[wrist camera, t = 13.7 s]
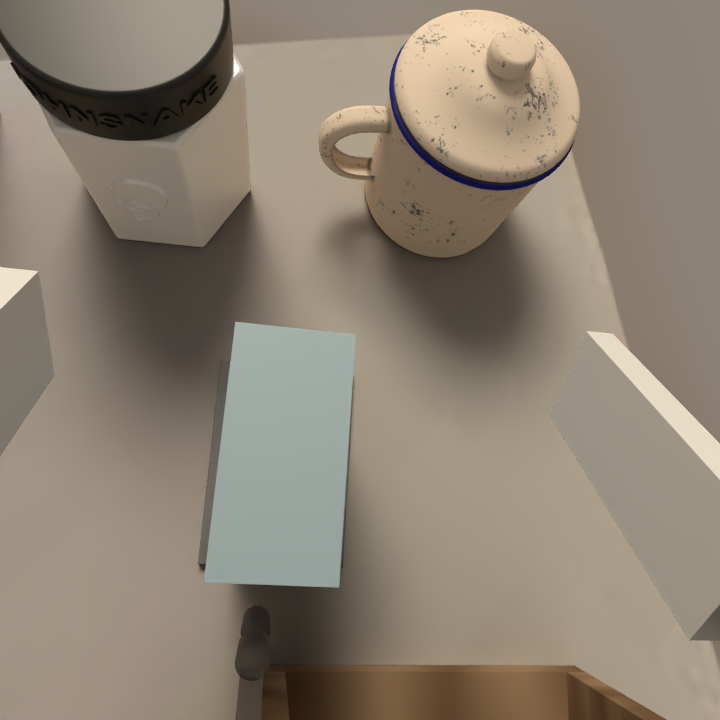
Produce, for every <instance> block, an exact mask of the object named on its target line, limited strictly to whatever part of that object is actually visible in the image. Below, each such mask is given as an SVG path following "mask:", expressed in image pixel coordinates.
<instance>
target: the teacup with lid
mask: <svg viewBox="0 0 720 720" xmlns="http://www.w3.org/2000/svg"><path fill="white" fill-rule="evenodd" d="M389 92H390V95H389V98H388V101H387V105H386V106H355V107H350V108H346V109H343V110H341V111H338V112H336V113H335V114H333V115H331V116H330V117H329V118H327V119H326V120H325V122H324V123H323V125H322V126H321V129H320V132H319V151H320V155H321V158H322V160H323V162H324V163H325V164H326V166H327V167H328V168H329V169H330V170H331V171H333V172H334V173H336V174H338V175H340V176H343V177H346V178H350V179H358V180H365V195H366V200H367V204H368V206H369V209H370V212H371V214H372V216H373V218H374V219H375V221H376V222H377V224H378V225H379V227H380V228H381V229H382V230H383V231H384V232H385V234H386V235H387V236H389V237H390V238H391V239H392V240H393V241H395V242H396V243H397V244H399V245H400V246H402V247H404V248H406V249H407V250H409V251H412V252H414V253H417V254H420V255H424V256H429V257H441V258H444V257H453V256H458V255H462V254H465V253H467V252H470V251H472V250H473V249H475V248H477V247H478V246H480V245H481V244H482V243H484V242H485V241H486V240H487V239H488V238H489V237H490V236H491V234H492V233H493V232H494V231H495V230H496V229H497V228H498V227H499V225H500V224H501V223H502V222H503V221H504V220H505V219H506V218H507V216H508V215H509V214H510V213H511V212H512V211H513V210H514V209H515V207H516V206H517V205H518V204H519V203H520V202H521V201H522V200H523V198H524V197H525V196H526V195H527V194H528V193H529V192H530V191H531V189H532V188H533V187H534V186H535V185H536V184H537V183H538V182H539V181H541V180H543V179H544V178H546V177H547V176H549V175H550V174H551V173H552V172H554V171H555V170H556V169H557V168H558V167H559V166H560V165H561V164H562V162H563V161H564V160H565V158H566V157H567V155H568V154H569V152H570V150H571V148H572V145H573V143H574V140H575V137H576V134H577V130H578V126H579V120H580V101H579V94H578V89H577V86H576V83H575V80H574V77H573V75H572V73H571V71H570V69H569V67H568V65H567V63H566V61H565V60H564V59H563V57H562V56H561V55H560V53H559V52H558V51H557V49H556V48H555V47H554V46H553V45H552V44H551V43H550V42H549V41H548V40H547V39H546V38H545V37H544V36H542V35H541V34H540V33H538V32H537V31H536V30H534V29H533V28H531V27H530V26H528V25H526V24H525V23H523V22H521V21H519V20H517V19H514V18H512V17H509V16H507V15H504V14H500V13H496V12H491V11H483V10H462V11H456V12H451V13H448V14H444V15H442V16H439V17H437V18H435V19H433V20H431V21H429V22H428V23H426V24H425V25H423V26H422V27H421V28H420V29H418V30H417V31H416V32H415V33H414V34H413V35H412V36H411V37H410V38H409V40H408V41H407V42H406V43H405V44H404V45H403V47H402V48H401V50H400V51H399V53H398V55H397V57H396V59H395V62H394V64H393V68H392V71H391V76H390V86H389ZM367 132H372V133H378V134H377V137H376V140H375V143H374V146H373V150H372V153H371V156H370V157H356V156H350V155H347V154H345V153H343V152H341V151H340V150H338V149H337V148H336V147H335V146H334V145H335V144H336V143H337V142H338V141H339V140H340V139H342V138H344V137H346V136H349V135H352V134H356V133H367Z"/></svg>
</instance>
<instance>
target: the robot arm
mask: <svg viewBox="0 0 720 720" xmlns="http://www.w3.org/2000/svg"><path fill="white" fill-rule="evenodd" d="M53 377H54V370H53V363H52V357H51V350H50V344H49V337H48V331H47V324H46V318H45V311H44V305H43V298H42V291H41V285H40V278H39V272H38V271H31V270H22V269H12V268H3V267H0V455H1V454H2V452H3V451H4V449H5V448H6V446H7V445H8V443H9V442H10V440H11V439H12V437H13V436H14V434H15V433H16V431H17V430H18V429H19V427H20V426H21V424H22V423H23V421H24V420H25V418H26V417H27V415H28V414H29V412H30V411H31V409H32V408H33V406H34V405H35V403H36V402H37V400H38V399H39V397H40V396H41V394H42V393H43V391H44V390H45V388H46V387H47V385H48V384H49V382H50V381H51V380H52V378H53ZM549 415H550V417H551V419H552V420H553V422H554V423H555V425H556V427H557V428H558V430H559V431H560V433H561V435H562V436H563V438H564V440H565V441H566V443H567V444H568V446H569V448H570V449H571V451H572V452H573V454H574V456H575V457H576V459H577V460H578V462H579V464H580V465H581V467H582V469H583V470H584V472H585V473H586V475H587V477H588V478H589V480H590V481H591V483H592V485H593V486H594V488H595V489H596V491H597V493H598V494H599V496H600V497H601V499H602V501H603V502H604V504H605V506H606V507H607V509H608V510H609V512H610V514H611V515H612V517H613V518H614V520H615V522H616V523H617V525H618V526H619V528H620V530H621V531H622V533H623V535H624V536H625V538H626V539H627V541H628V543H629V544H630V546H631V547H632V549H633V551H634V552H635V554H636V555H637V557H638V559H639V560H640V562H641V564H642V565H643V567H644V568H645V570H646V572H647V573H648V575H649V576H650V578H651V580H652V581H653V583H654V584H655V586H656V588H657V589H658V591H659V592H660V594H661V596H662V597H663V599H664V601H665V602H666V604H667V605H668V607H669V609H670V610H671V612H672V613H673V615H674V617H675V618H676V620H677V621H678V623H679V625H680V626H681V628H682V630H683V631H684V633H685V634H686V636H687V638H688V639H689V640H720V444H719V443H718V442H717V441H716V440H715V439H714V437H712V435H711V434H710V433H709V432H708V431H707V430H706V429H705V428H704V427H703V426H702V425H701V424H700V423H699V422H698V421H697V420H696V419H695V418H694V417H693V416H692V415H691V414H690V413H689V412H688V411H687V410H686V409H685V408H684V407H683V406H682V405H681V404H680V403H679V402H678V401H677V399H676V398H675V397H673V395H672V394H671V393H670V392H669V391H668V390H667V389H666V388H665V387H664V386H663V385H662V384H661V383H660V382H659V381H658V380H657V379H656V378H655V377H654V376H653V375H652V374H651V373H650V372H649V371H648V370H647V369H646V368H645V367H644V366H643V365H642V364H641V363H640V362H639V361H638V360H637V359H636V358H635V356H634V355H633V354H632V353H631V352H630V351H629V350H628V349H627V348H626V347H625V346H624V345H623V344H622V343H621V342H620V341H619V340H618V339H617V338H616V337H615V336H614V335H613V334H608V333H598V332H589V331H586V332H585V335H584V337H583V339H582V342H581V344H580V346H579V348H578V351H577V353H576V355H575V357H574V360H573V362H572V364H571V366H570V369H569V371H568V373H567V375H566V378H565V380H564V382H563V385H562V387H561V389H560V391H559V394H558V396H557V398H556V400H555V403H554V405H553V407H552V409H551V412H550V414H549Z"/></svg>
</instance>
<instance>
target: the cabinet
mask: <svg viewBox="0 0 720 720" xmlns="http://www.w3.org/2000/svg"><path fill="white" fill-rule="evenodd" d="M229 369H230V362H224V361H221V364H220V373H219V382H218V391H217V399H216V408H215V417H214V426H213V435H212V444H211V453H210V462H209V470H208V479H207V488H206V497H205V506H204V515H203V524H202V533H201V541H200V550H199V559H198V564H206V559H207V551H208V543H209V534H210V526H211V518H212V510H213V501H214V493H215V485H216V477H217V468H218V460H219V452H220V444H221V435H222V427H223V419H224V411H225V402H226V394H227V386H228V378H229ZM351 402H352V400H351ZM350 420H351V415H350ZM349 439H350V430H349ZM348 457H349V445H348ZM347 476H348V460H347V475H346V490H345V506H344V521H343V536H342V551H341V566H340V568H343V550H344V532H345V513H346V494H347ZM269 635H270V615H269V613H268V611H267V610H266V609H265V608H264V607H262V606H254V607H251V608H250V609H248V610H247V611H246V613H245V615H244V617H243V622H242V628H241V638H240V640H239V644H238V649H237V654H236V660H235V667H236V671H237V673H238V674H239V676H240V680H239V691H238V702H237V713H236V720H666V719H664V718H663V717H661V716H659V715H657V714H656V713H654V712H652V711H651V710H649V709H647V708H646V707H644V706H642V705H640V704H639V703H637V702H635V701H634V700H632V699H630V698H629V697H627V696H625V695H623V694H622V693H620V692H618V691H617V690H615V689H613V688H611V687H610V686H608V685H606V684H605V683H603V682H601V681H600V680H598V679H596V678H594V677H593V676H591V675H589V674H588V673H586V672H584V671H583V670H581V669H579V668H577V667H576V666H462V665H270V663H271V647H270V638H269Z"/></svg>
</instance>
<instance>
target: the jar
mask: <svg viewBox="0 0 720 720" xmlns="http://www.w3.org/2000/svg"><path fill="white" fill-rule="evenodd" d="M0 43H1V44H2V46H3V48H4V49H5V51H6V53H7V54H8V56H9V58H10V59H11V61H12V62H11V63H10V64H11V65H12V67H13V69H14V70H15V72H16V74H17V75H18V77H19V78H20V79H21V80H22V81H23V83H24V84H25V85H26V87H27V88H28V89H29V90H30V92H31V93H32V95H33V96H34V97H35V99H36V100H37V101H38V102H39V105H40V107H41V109H42V111H43V113H44V115H45V117H46V120H47V122H48V124H49V126H50V128H51V130H52V132H53V134H54V135H55V137H56V139H57V140H58V142H59V144H60V145H61V147H62V148H63V150H64V152H65V153H66V155H67V157H68V158H69V160H70V162H71V163H72V165H73V167H74V168H75V170H76V171H77V173H78V175H79V176H80V178H81V180H82V181H83V183H84V185H85V186H86V188H87V190H88V191H89V193H90V194H91V196H92V198H93V199H94V201H95V203H96V204H97V206H98V208H99V209H100V211H101V213H102V214H103V216H104V217H105V219H106V221H107V222H108V224H109V226H110V227H111V229H112V231H113V232H114V234H115V236H116V237H117V238H120V239H128V240H137V241H147V242H156V243H166V244H175V245H185V246H194V247H204V246H205V245H206V244H207V243H208V241H209V240H210V239H211V238H212V237H213V235H214V234H215V233H216V232H217V230H218V229H219V228H220V227H221V226H222V224H223V223H224V222H225V221H226V219H227V218H228V217H229V216H230V215H231V213H232V212H233V211H234V210H235V208H236V207H237V206H238V205H239V203H240V202H241V201H242V200H243V199H244V197H245V196H246V195H247V194H248V192H249V191H250V189H251V180H250V162H249V144H248V127H247V109H246V91H245V73H244V70H243V68H242V66H241V64H240V62H239V61H238V59H237V57H236V55H235V53H234V51H233V42H232V30H231V17H230V6H229V0H0Z"/></svg>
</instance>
